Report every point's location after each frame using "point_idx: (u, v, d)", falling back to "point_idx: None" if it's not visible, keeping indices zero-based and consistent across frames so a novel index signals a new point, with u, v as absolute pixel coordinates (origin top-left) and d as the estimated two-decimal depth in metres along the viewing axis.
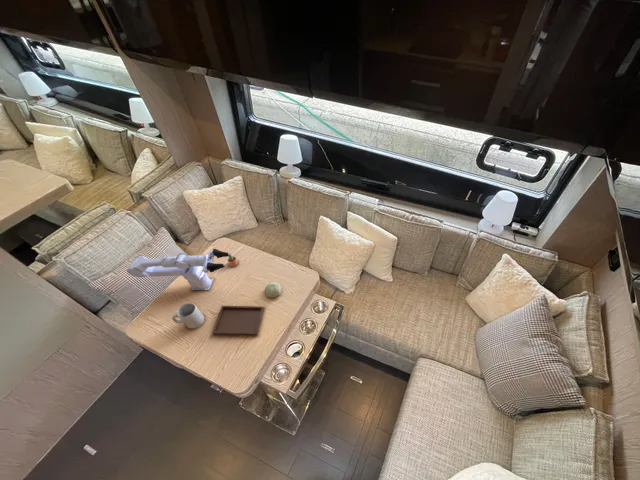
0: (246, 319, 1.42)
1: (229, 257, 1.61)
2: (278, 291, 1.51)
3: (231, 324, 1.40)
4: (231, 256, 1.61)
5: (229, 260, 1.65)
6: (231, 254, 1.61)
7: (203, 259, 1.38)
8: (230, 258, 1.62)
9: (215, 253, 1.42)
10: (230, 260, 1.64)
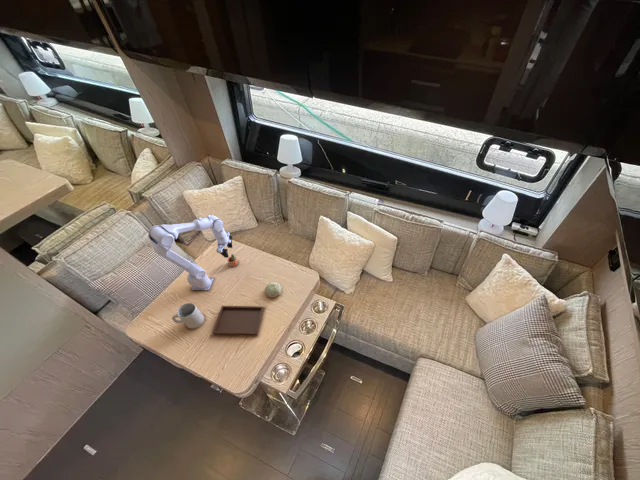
0: (246, 319, 1.42)
1: (231, 257, 1.61)
2: (278, 291, 1.51)
3: (231, 324, 1.40)
4: (234, 256, 1.61)
5: (229, 260, 1.65)
6: None
7: (226, 241, 1.51)
8: (232, 258, 1.62)
9: (229, 240, 1.57)
10: None
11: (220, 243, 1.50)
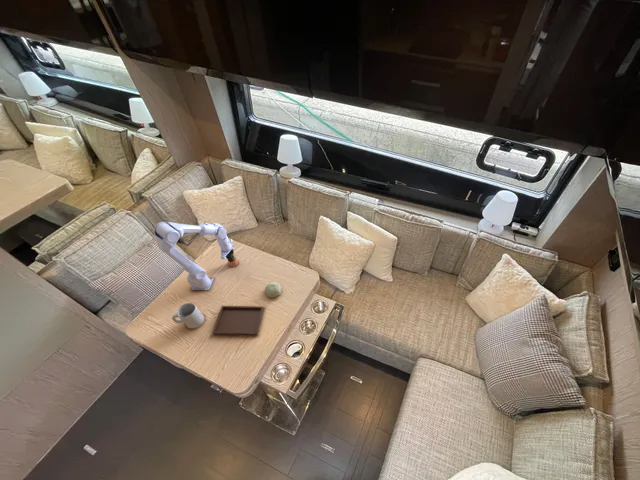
0: (246, 319, 1.42)
1: (232, 257, 1.61)
2: (278, 291, 1.51)
3: (231, 324, 1.40)
4: (234, 256, 1.61)
5: None
6: None
7: (229, 248, 1.55)
8: None
9: (230, 249, 1.59)
10: None
11: (223, 250, 1.54)
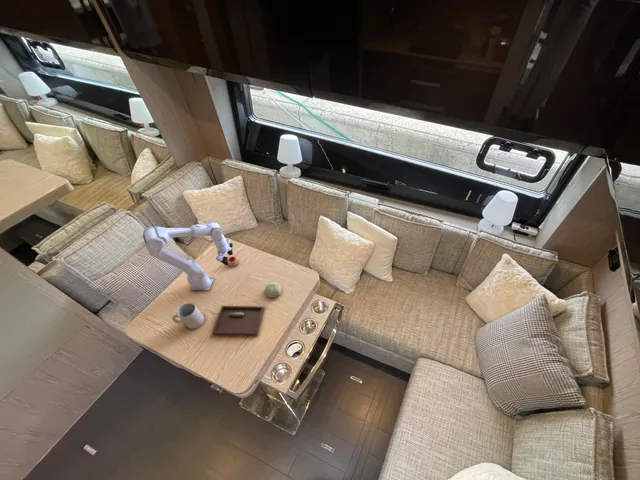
0: (246, 319, 1.42)
1: (239, 315, 1.42)
2: (278, 291, 1.51)
3: (231, 324, 1.40)
4: None
5: (229, 260, 1.65)
6: None
7: (226, 249, 1.47)
8: None
9: None
10: (233, 314, 1.42)
11: (220, 251, 1.46)
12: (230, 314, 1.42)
